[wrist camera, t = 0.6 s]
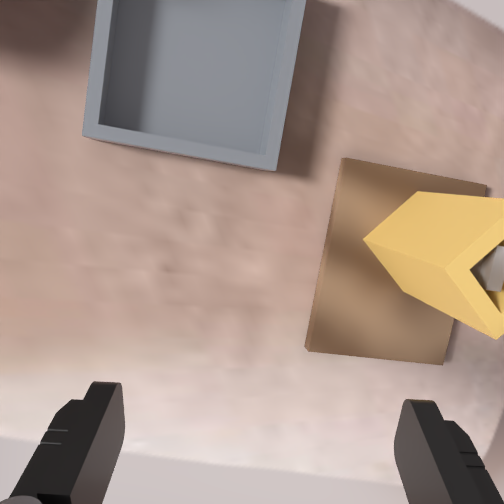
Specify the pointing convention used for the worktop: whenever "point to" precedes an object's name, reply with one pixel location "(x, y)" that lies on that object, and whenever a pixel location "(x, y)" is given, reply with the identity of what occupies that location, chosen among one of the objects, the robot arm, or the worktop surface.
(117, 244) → the worktop surface
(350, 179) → the board
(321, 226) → the worktop surface
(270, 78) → the tray
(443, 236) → the yellow open box
